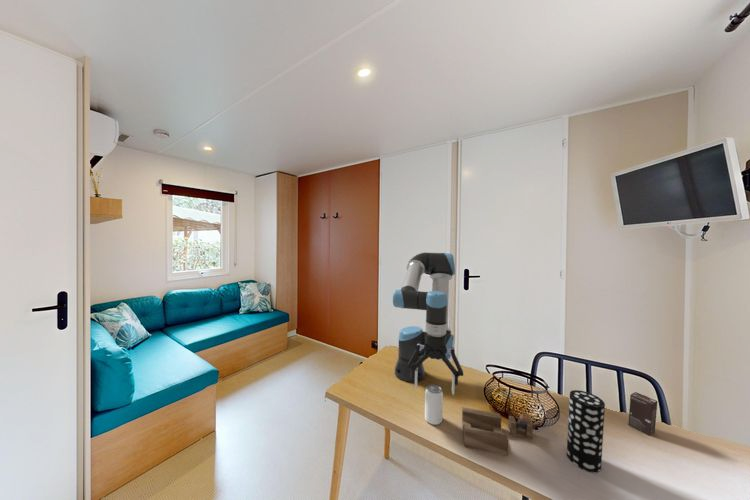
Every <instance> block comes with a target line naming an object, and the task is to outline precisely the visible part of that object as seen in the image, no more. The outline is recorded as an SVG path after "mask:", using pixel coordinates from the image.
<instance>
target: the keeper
mask: <svg viewBox="0 0 750 500" xmlns="http://www.w3.org/2000/svg"><path fill="white" fill-rule="evenodd" d="M531 421H532V416H531V414H530V413H523V412H522V413H521V414H520V415H519V418H518V419H517V421H516V428H518V429H523V430H525V427H526V425H527V424H528V423H529V422H531Z"/></svg>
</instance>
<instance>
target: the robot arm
mask: <svg viewBox="0 0 750 500" xmlns="http://www.w3.org/2000/svg"><path fill="white" fill-rule="evenodd" d="M455 267H456V265H455V259H454V255H453V254H452V253H447V252H421V253H417V254H416V255H414V256H413V257H412V258H410V259H409V261H408V263H407V265H406V274H405V277H404V279H403V282H402V285H401V288H400V289H395V290H393V293H392V294H393V295H392V305H393V307H395V308H398V309H399V308H400V309H408V310H418V311H420V310H421V311H425V312H426V314H425V331H424V330H423V328H422V327H420V326H416V325H412V326H406V327H403V328H401V329H400V330H399V332H398V353H397V354H398V357H397V361H396V364H395V366H394V375H395V377H396V378H398V379H399V380H402V381H404V382H410V383H412V382H413V383H414V389H417V388H418V382H419V381H422V380H423V379H424V378H425V373H426V372H425V371H426V370H425V368H424V364H423V363H424V362H425V361H427V359H428V358H430V359H431V360H434V359H435V360H438V361H439V360H441V361H442V362H443V363H444V364H445V365H446V367H447V368H448V369H449V370H450V372H451V373H452V377H451V378H452V379H451V394H452V395H453V396H454V395H455V388H456V387H455V386H458V384H459V377H460V376H461V377H463V376H464V370H463V367H462V366H461V364H460V361H459V360H458V357H457V355H456V353H455V347H453V346H454V340H455V339H454V338H455V336H454V334H452V330H451V329H450V328H449V306H450V305H449V303H450V302H449V297H450V280H452V279H453V276H455V275H456V269H455ZM424 274H429V277H430V278H431V280H432V285H431V288H432V289H431V291H420V290H419V288H420V283H421V279H422V275H424ZM451 358H452V360H453V361H452V362H453V363H454V365H455V366H454V365H453V364H452V362H451V361H450V359H451ZM455 367H456V368H455Z"/></svg>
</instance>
